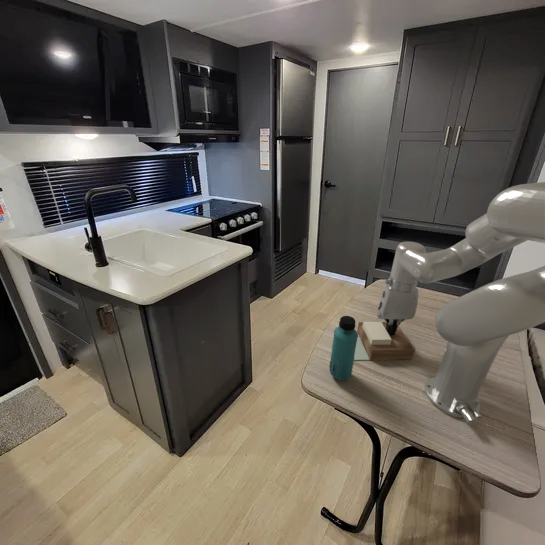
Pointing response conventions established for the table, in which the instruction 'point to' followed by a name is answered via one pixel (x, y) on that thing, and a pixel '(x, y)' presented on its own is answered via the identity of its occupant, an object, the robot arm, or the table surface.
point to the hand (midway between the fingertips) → (390, 332)
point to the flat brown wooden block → (387, 346)
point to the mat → (360, 351)
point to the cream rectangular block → (376, 333)
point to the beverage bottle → (343, 348)
